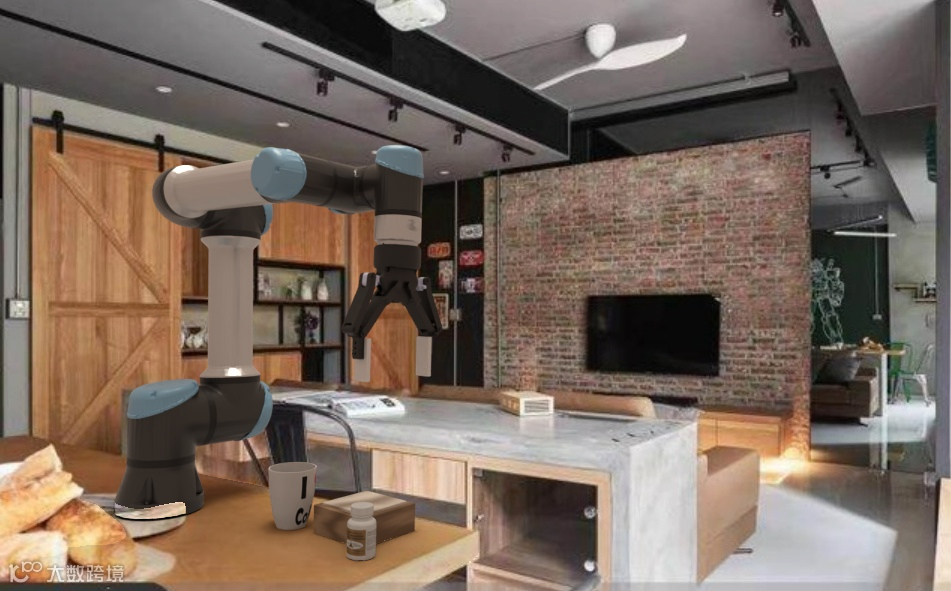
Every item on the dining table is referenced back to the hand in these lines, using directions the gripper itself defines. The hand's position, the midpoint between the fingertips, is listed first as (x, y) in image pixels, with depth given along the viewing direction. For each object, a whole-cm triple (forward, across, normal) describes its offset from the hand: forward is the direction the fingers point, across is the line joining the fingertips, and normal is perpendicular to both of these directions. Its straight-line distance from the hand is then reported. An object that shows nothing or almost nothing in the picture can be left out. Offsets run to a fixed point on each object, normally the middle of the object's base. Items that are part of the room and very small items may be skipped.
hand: (394, 378), depth 104 cm
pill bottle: (+27, -5, +1) cm, 27 cm away
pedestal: (+27, +3, +9) cm, 28 cm away
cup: (+27, -3, +21) cm, 34 cm away
